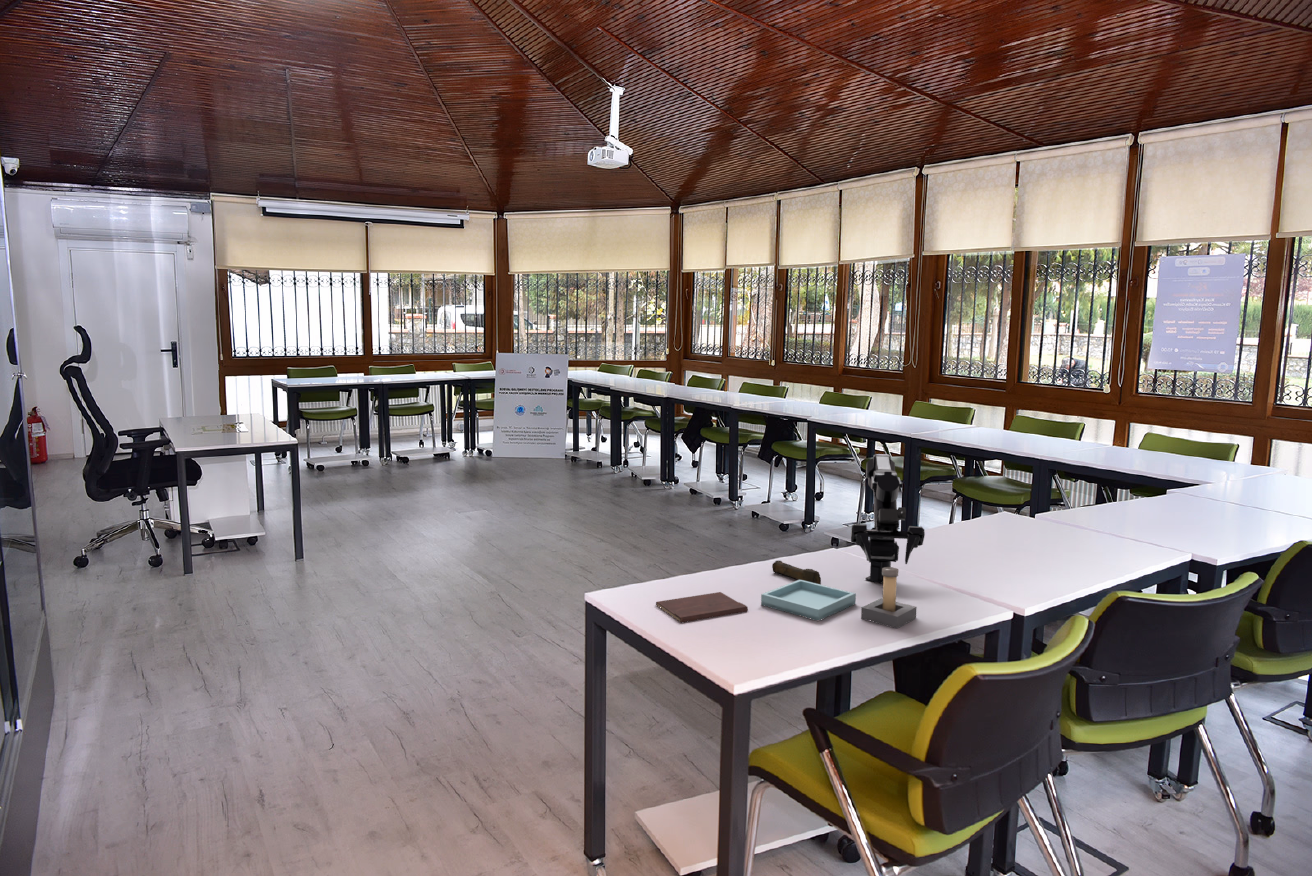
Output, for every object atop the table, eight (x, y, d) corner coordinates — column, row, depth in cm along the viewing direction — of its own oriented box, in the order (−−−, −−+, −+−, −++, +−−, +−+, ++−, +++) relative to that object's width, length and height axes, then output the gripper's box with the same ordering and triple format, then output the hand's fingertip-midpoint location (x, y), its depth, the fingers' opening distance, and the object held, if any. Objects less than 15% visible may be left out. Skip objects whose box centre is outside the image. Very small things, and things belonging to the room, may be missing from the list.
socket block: (880, 609, 219) (881, 598, 219) (916, 618, 212) (916, 606, 212) (861, 618, 212) (861, 607, 212) (897, 628, 205) (897, 616, 205)
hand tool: (771, 573, 252) (771, 558, 252) (781, 571, 254) (781, 556, 254) (813, 590, 236) (813, 574, 236) (823, 588, 238) (823, 572, 238)
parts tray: (799, 589, 236) (799, 579, 235) (855, 604, 223) (855, 593, 223) (761, 605, 223) (761, 594, 223) (818, 621, 211) (818, 609, 210)
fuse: (885, 614, 215) (887, 566, 213) (899, 618, 212) (901, 569, 211) (877, 618, 212) (879, 569, 210) (891, 622, 209) (893, 572, 208)
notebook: (655, 607, 223) (655, 599, 223) (719, 597, 232) (719, 590, 231) (680, 625, 210) (680, 617, 210) (747, 613, 218) (748, 606, 218)
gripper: (852, 494, 222) (852, 545, 213) (925, 497, 218) (928, 548, 209) (850, 517, 231) (851, 566, 221) (920, 519, 227) (923, 570, 218)
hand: (888, 562), depth 217 cm, fingers open, 9 cm apart
